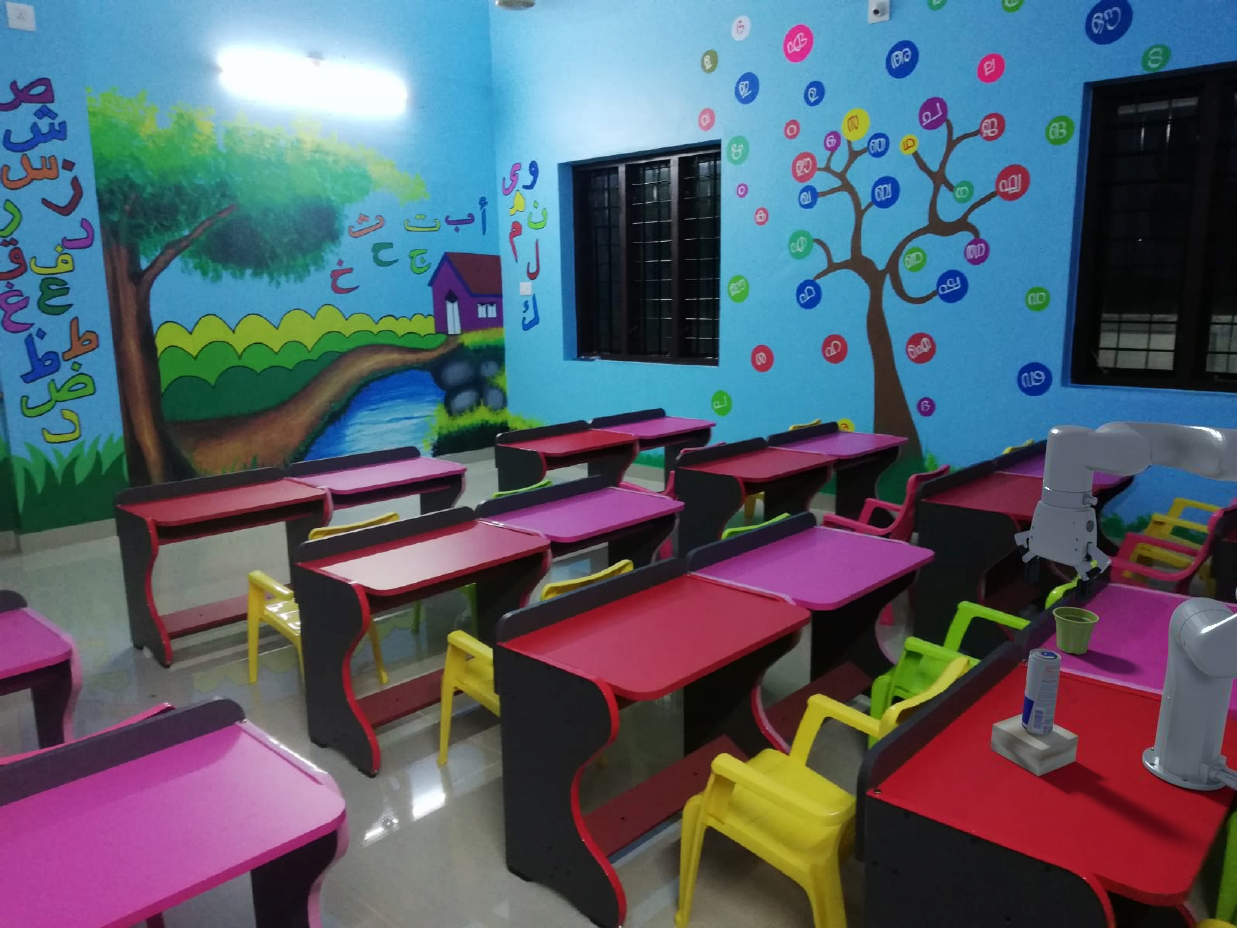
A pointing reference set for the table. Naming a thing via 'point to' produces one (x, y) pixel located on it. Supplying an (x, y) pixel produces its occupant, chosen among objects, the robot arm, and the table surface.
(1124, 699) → the table surface
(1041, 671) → the beverage can
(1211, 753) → the robot arm
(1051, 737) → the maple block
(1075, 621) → the plant pot
